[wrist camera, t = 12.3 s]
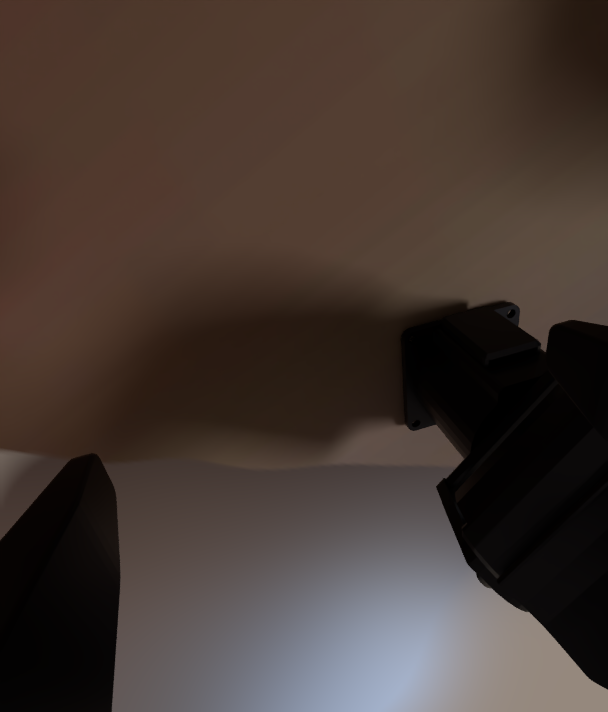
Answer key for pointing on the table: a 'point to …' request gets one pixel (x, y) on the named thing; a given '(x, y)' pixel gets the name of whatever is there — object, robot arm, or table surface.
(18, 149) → the table surface
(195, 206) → the table surface
